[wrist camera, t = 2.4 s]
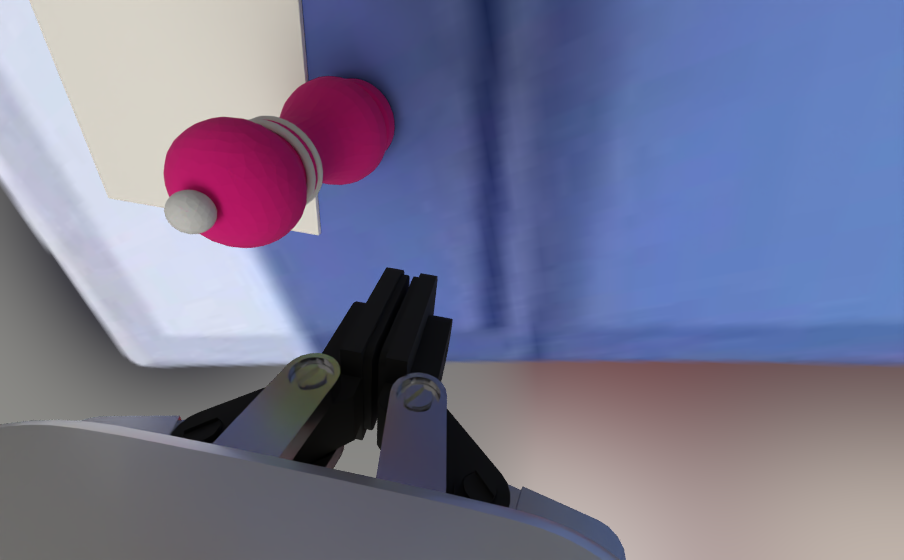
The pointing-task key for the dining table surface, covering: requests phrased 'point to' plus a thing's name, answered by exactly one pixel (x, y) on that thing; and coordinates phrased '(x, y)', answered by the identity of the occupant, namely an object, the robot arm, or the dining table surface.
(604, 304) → the dining table surface
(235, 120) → the pepper mill
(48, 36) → the rubber mat
